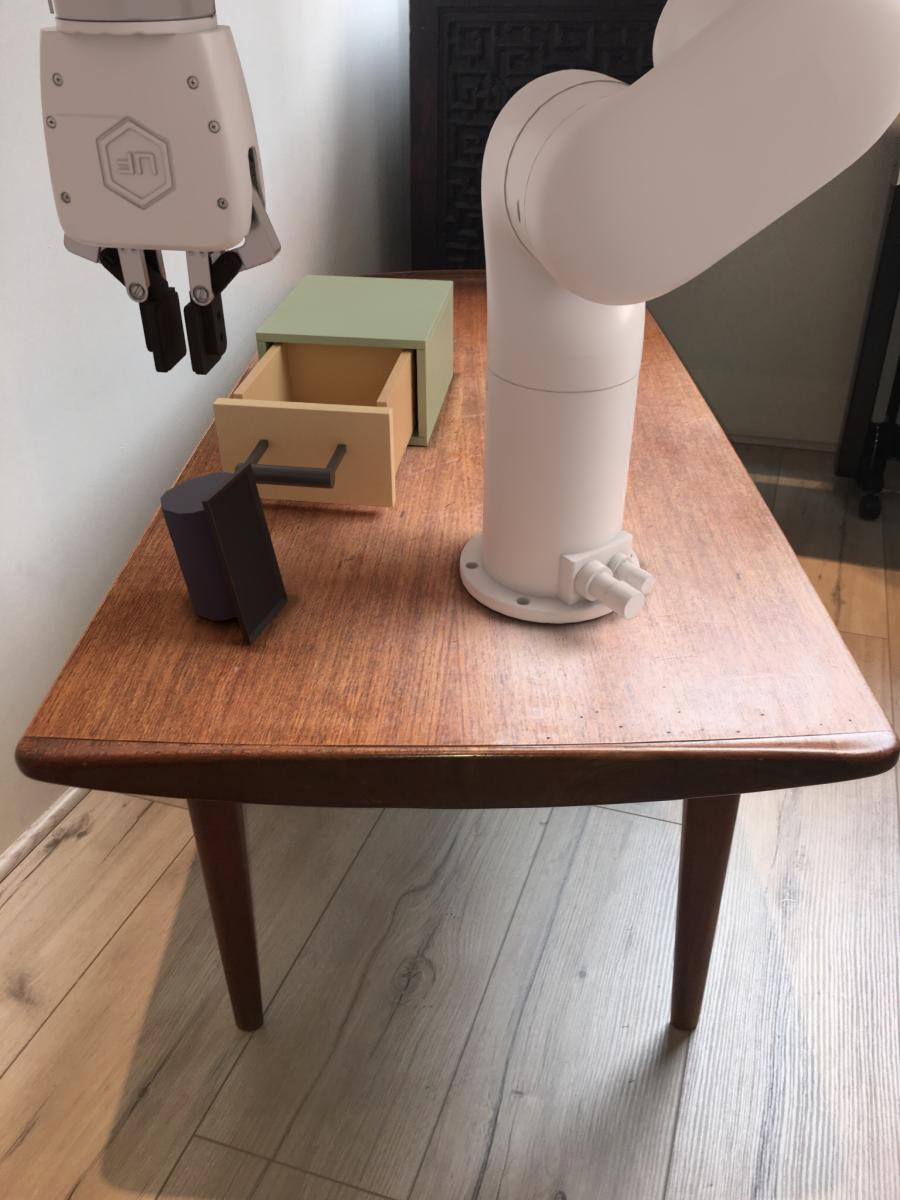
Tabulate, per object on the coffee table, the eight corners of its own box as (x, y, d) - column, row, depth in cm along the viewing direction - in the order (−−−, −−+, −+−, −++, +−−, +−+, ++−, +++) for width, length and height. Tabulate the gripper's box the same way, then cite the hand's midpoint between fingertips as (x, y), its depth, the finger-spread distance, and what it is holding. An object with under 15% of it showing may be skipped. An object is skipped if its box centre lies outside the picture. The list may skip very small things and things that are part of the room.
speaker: (313, 603, 67) (282, 464, 61) (249, 647, 63) (209, 503, 58) (240, 574, 71) (205, 441, 66) (176, 613, 68) (133, 477, 62)
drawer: (378, 546, 72) (373, 448, 67) (200, 533, 73) (184, 436, 69) (425, 424, 89) (423, 339, 85) (280, 415, 91) (271, 332, 86)
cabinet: (427, 446, 87) (425, 340, 82) (267, 436, 89) (255, 332, 84) (453, 375, 101) (453, 280, 96) (313, 368, 103) (305, 274, 97)
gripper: (-65, -4, 45) (31, 382, 55) (270, 1, 43) (304, 399, 54) (18, -13, 51) (90, 336, 61) (314, -10, 49) (337, 349, 60)
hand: (189, 363), depth 57 cm, fingers closed
